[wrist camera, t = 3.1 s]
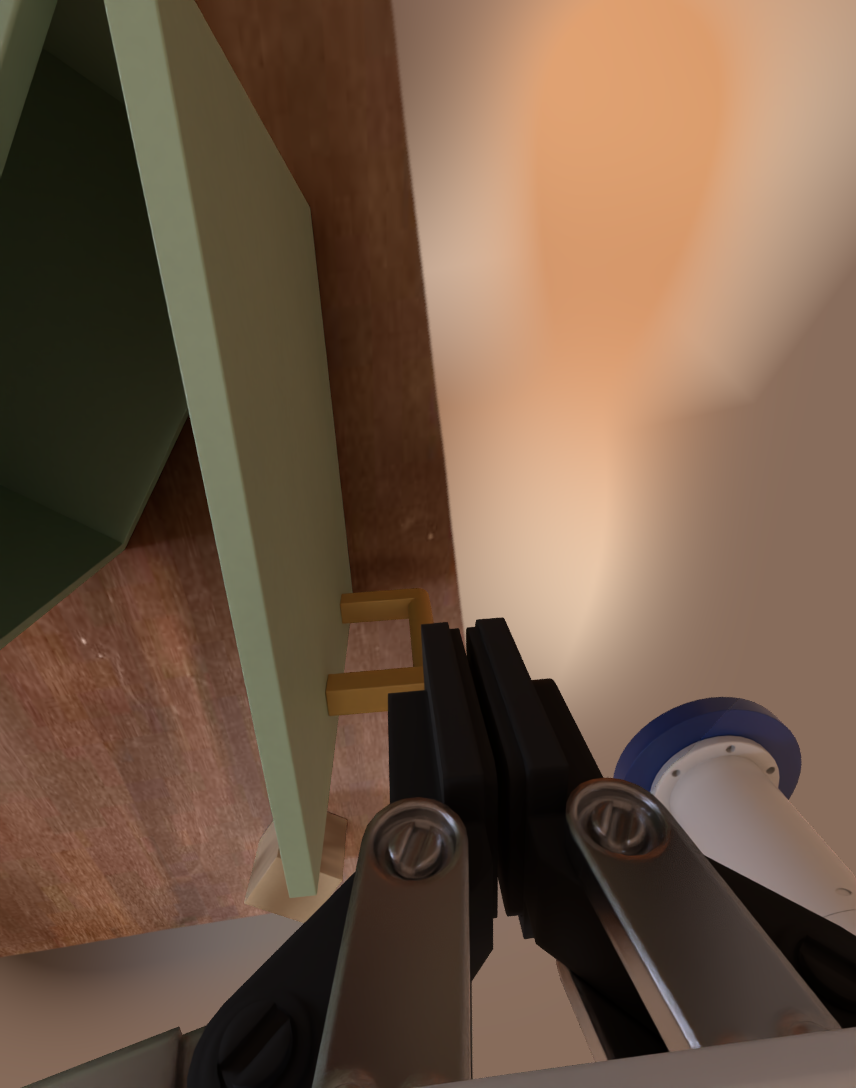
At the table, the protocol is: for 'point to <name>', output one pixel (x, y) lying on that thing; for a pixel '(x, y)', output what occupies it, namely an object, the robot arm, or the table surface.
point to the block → (270, 879)
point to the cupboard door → (256, 407)
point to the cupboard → (73, 312)
